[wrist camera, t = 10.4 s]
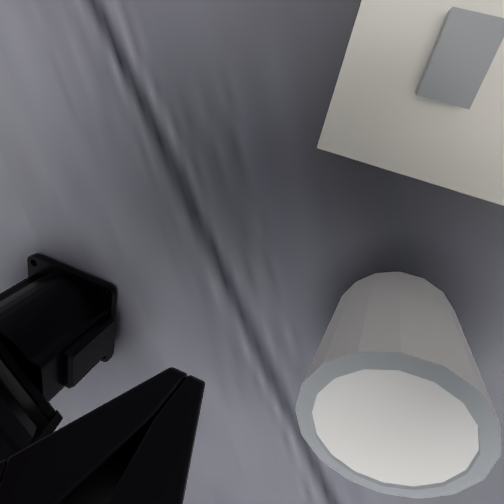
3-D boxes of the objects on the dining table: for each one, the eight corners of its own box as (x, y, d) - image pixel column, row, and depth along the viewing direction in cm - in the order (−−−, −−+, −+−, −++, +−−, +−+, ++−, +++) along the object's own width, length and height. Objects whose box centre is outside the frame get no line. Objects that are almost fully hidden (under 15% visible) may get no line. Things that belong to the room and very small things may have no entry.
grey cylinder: (326, 252, 19) (293, 337, 13) (484, 267, 17) (527, 376, 11) (323, 362, 22) (294, 472, 16) (457, 387, 20) (481, 524, 14)
